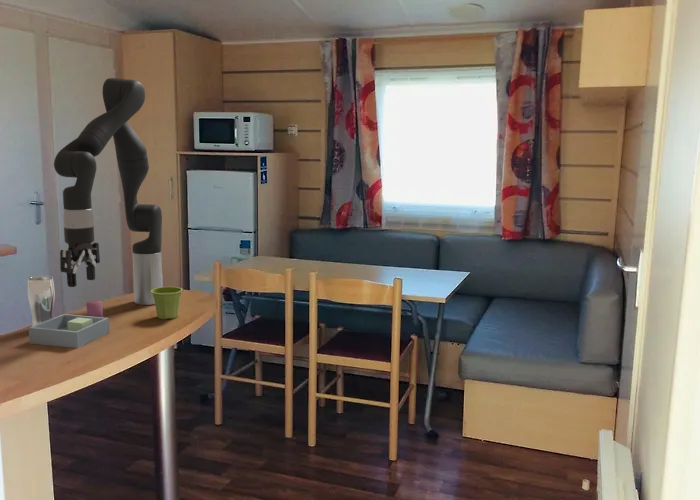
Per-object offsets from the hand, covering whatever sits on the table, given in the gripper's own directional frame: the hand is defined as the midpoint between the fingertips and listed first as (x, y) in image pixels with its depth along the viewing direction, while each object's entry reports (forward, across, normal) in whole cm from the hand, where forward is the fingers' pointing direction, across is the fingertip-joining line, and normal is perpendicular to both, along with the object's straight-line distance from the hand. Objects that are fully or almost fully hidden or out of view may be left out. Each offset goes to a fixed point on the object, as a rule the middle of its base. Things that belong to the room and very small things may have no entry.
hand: (81, 283), depth 179 cm
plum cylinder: (+15, +13, +5) cm, 21 cm away
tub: (+15, -3, +2) cm, 16 cm away
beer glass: (+15, +2, +15) cm, 22 cm away
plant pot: (+16, +24, -13) cm, 31 cm away
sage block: (+14, -3, -1) cm, 15 cm away
